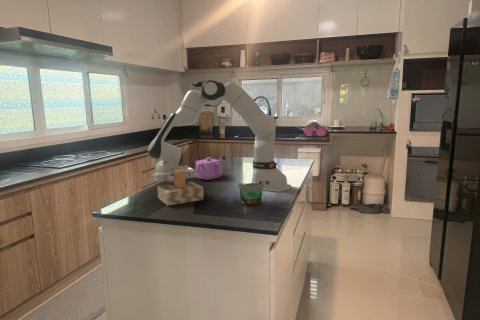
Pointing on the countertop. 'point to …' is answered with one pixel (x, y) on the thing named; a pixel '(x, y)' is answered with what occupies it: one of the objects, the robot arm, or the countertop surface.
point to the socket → (180, 193)
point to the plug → (179, 178)
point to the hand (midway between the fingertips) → (180, 178)
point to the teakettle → (208, 168)
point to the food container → (251, 193)
